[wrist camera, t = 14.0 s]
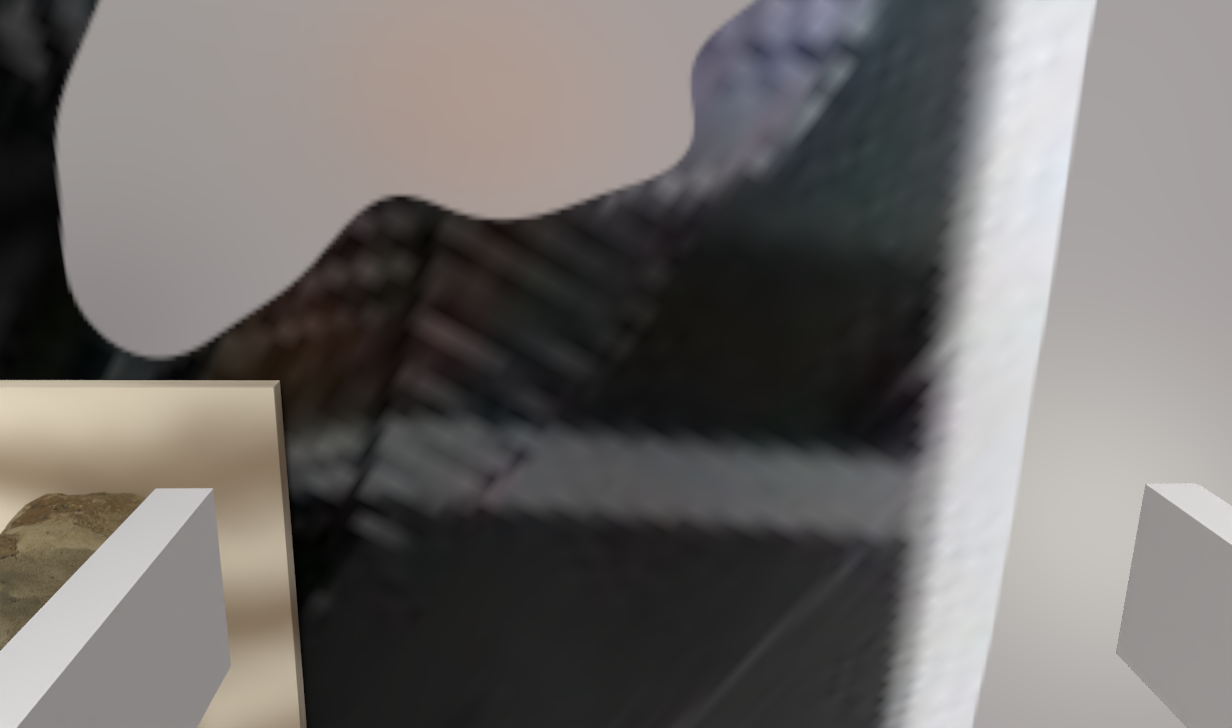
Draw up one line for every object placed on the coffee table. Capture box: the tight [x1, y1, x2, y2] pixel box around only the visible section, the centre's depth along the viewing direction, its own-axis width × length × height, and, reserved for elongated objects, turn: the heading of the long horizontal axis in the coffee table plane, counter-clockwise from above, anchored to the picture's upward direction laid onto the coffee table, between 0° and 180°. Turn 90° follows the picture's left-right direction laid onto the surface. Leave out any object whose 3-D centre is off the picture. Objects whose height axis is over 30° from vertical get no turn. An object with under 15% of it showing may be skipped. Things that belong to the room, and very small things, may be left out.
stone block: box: [0, 492, 146, 651], centre depth 42 cm, size 6×12×5 cm, turn 177°
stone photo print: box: [0, 380, 307, 728], centre depth 45 cm, size 20×15×1 cm
